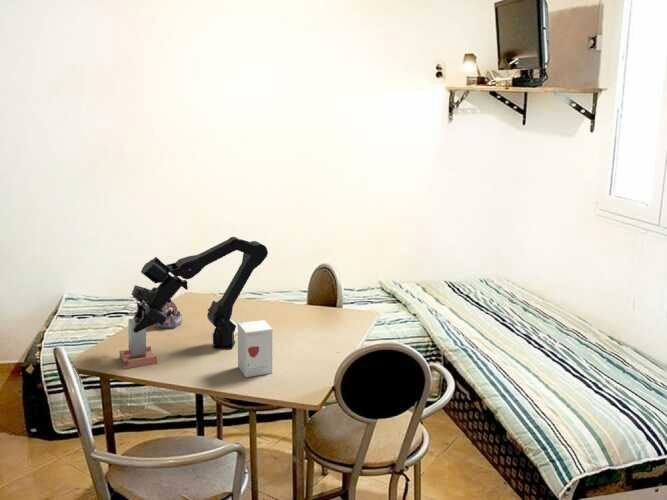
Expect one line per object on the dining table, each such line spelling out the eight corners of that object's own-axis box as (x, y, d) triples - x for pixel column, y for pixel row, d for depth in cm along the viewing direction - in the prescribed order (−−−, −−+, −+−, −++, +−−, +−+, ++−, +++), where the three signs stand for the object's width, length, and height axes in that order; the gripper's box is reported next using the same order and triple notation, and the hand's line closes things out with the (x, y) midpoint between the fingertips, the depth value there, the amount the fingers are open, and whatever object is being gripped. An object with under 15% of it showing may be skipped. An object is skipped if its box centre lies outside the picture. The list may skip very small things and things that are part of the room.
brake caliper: (176, 326, 227) (158, 299, 227) (156, 340, 231) (138, 313, 231) (192, 316, 238) (174, 290, 238) (173, 330, 242) (155, 304, 242)
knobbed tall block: (142, 352, 206) (142, 314, 203) (145, 357, 201) (146, 319, 199) (128, 354, 203) (128, 316, 201) (131, 359, 199) (131, 321, 196)
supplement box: (245, 378, 192) (244, 332, 188) (237, 366, 200) (236, 322, 196) (273, 373, 195) (273, 328, 192) (264, 362, 203) (264, 319, 200)
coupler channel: (150, 352, 209) (150, 345, 209) (157, 363, 201) (157, 356, 200) (119, 357, 205) (119, 350, 204) (125, 369, 196) (125, 361, 196)
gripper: (140, 269, 206) (108, 306, 204) (152, 284, 190) (118, 324, 188) (165, 289, 212) (134, 325, 209) (179, 305, 196) (146, 344, 193)
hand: (132, 329), depth 200 cm, fingers closed on knobbed tall block, 5 cm apart
